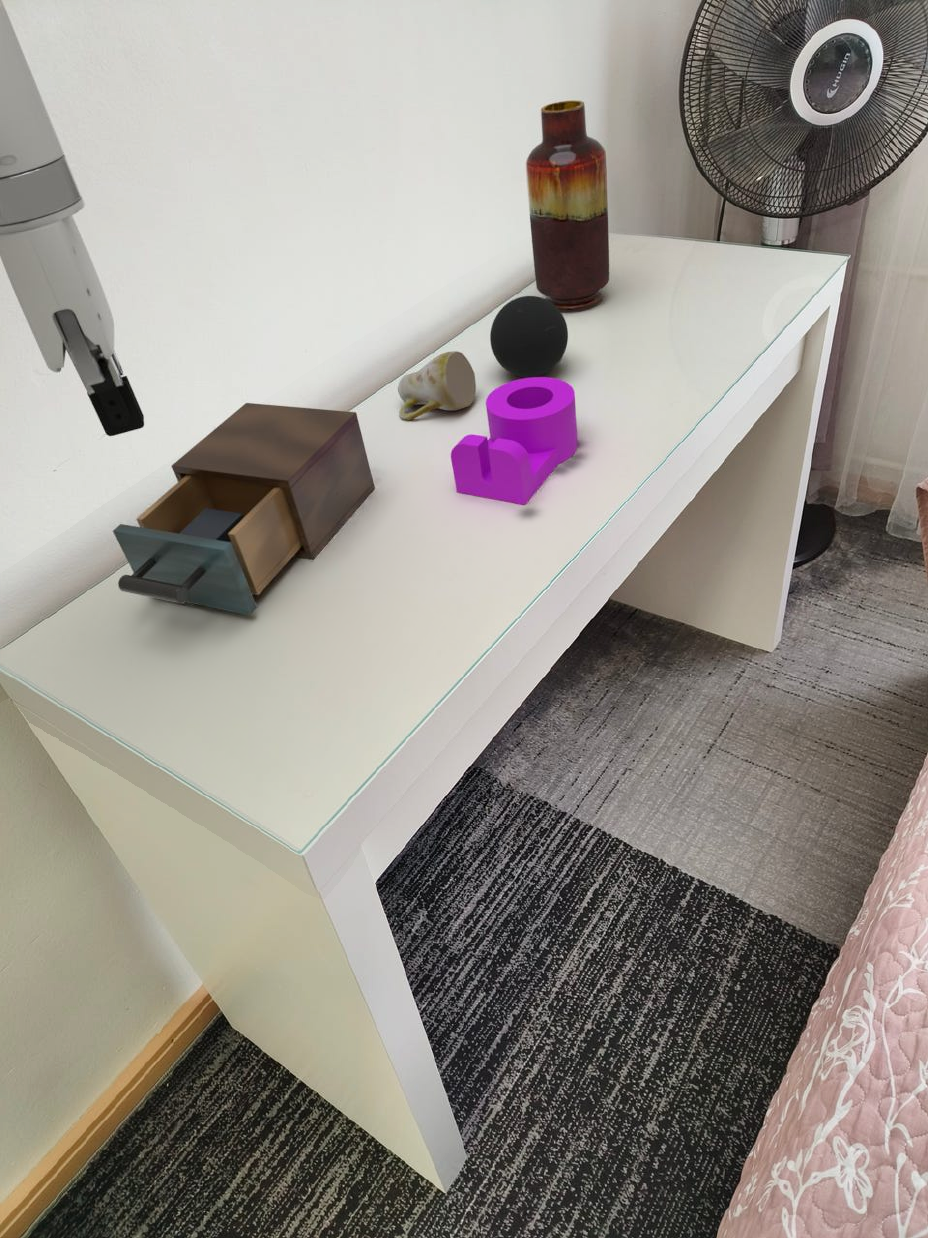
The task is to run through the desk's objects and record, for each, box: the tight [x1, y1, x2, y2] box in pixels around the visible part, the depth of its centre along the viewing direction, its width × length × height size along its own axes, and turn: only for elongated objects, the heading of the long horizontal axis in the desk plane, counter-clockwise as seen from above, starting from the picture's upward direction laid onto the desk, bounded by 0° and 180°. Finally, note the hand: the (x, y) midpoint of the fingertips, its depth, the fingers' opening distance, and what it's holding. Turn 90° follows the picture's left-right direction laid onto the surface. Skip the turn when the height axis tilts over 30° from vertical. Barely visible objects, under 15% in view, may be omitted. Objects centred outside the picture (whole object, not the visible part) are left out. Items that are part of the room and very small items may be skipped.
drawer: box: [112, 474, 303, 616], centre depth 83 cm, size 17×13×8 cm
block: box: [179, 508, 244, 566], centre depth 85 cm, size 5×5×5 cm
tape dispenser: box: [450, 376, 579, 506], centre depth 94 cm, size 16×10×6 cm, turn 151°
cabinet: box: [171, 402, 376, 560], centre depth 92 cm, size 14×15×10 cm
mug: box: [397, 350, 477, 421], centre depth 107 cm, size 8×10×10 cm
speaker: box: [489, 295, 569, 378], centre depth 109 cm, size 10×10×10 cm
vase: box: [525, 100, 610, 313], centre depth 121 cm, size 11×11×26 cm
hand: (126, 427), depth 72 cm, fingers closed
